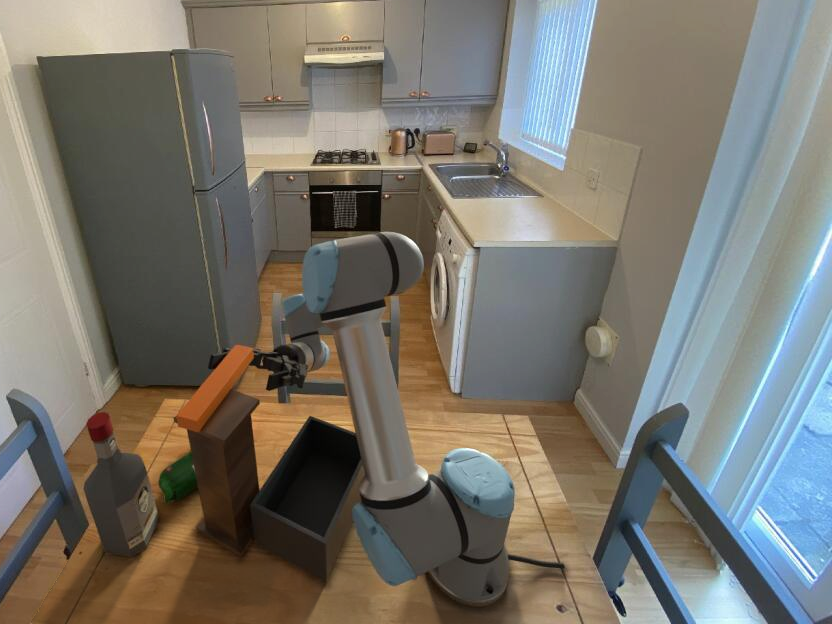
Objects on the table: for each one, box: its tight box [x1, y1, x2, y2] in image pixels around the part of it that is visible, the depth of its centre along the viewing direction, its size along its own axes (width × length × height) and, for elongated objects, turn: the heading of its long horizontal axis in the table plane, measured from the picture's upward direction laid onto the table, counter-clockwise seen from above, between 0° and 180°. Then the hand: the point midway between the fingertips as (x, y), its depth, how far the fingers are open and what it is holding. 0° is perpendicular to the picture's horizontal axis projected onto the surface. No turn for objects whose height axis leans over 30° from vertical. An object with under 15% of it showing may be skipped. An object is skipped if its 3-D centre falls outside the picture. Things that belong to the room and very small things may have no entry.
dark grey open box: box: [250, 415, 365, 583], centre depth 86 cm, size 16×24×11 cm, turn 153°
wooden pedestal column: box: [173, 388, 261, 558], centre depth 80 cm, size 11×10×30 cm
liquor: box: [83, 411, 160, 558], centre depth 78 cm, size 9×9×30 cm
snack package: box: [158, 451, 198, 504], centre depth 94 cm, size 7×16×5 cm, turn 131°
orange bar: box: [175, 344, 254, 432], centre depth 78 cm, size 4×20×2 cm, turn 161°
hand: (238, 372), depth 78 cm, fingers open, 13 cm apart
